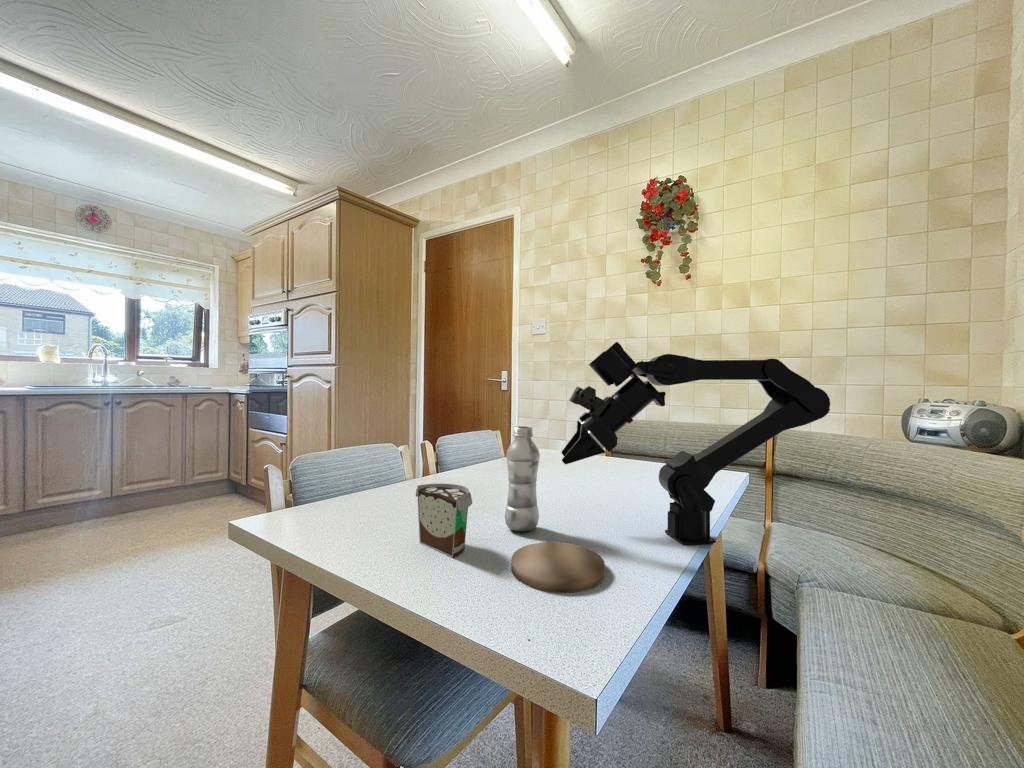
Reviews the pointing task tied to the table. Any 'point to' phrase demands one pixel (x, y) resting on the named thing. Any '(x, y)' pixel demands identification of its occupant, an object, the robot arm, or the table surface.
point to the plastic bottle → (522, 481)
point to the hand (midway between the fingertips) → (563, 458)
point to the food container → (443, 517)
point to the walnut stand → (558, 567)
